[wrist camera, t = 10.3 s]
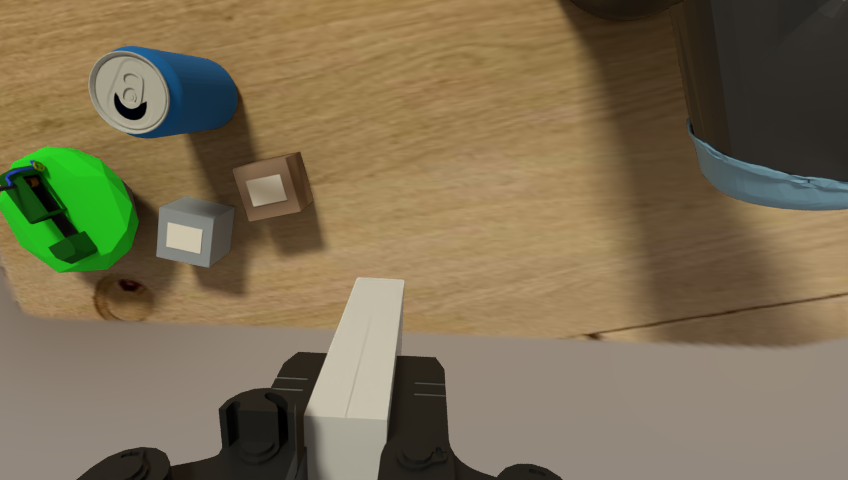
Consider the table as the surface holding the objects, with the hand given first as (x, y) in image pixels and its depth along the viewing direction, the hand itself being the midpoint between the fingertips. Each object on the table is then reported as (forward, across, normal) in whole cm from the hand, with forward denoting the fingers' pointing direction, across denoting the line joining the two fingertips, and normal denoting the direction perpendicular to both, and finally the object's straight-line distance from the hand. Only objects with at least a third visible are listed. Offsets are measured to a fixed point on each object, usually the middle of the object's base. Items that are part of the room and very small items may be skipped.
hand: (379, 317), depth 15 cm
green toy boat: (+33, -32, -5) cm, 46 cm away
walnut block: (+33, -13, -2) cm, 35 cm away
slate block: (+33, -21, -7) cm, 39 cm away
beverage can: (+33, -20, +6) cm, 39 cm away
